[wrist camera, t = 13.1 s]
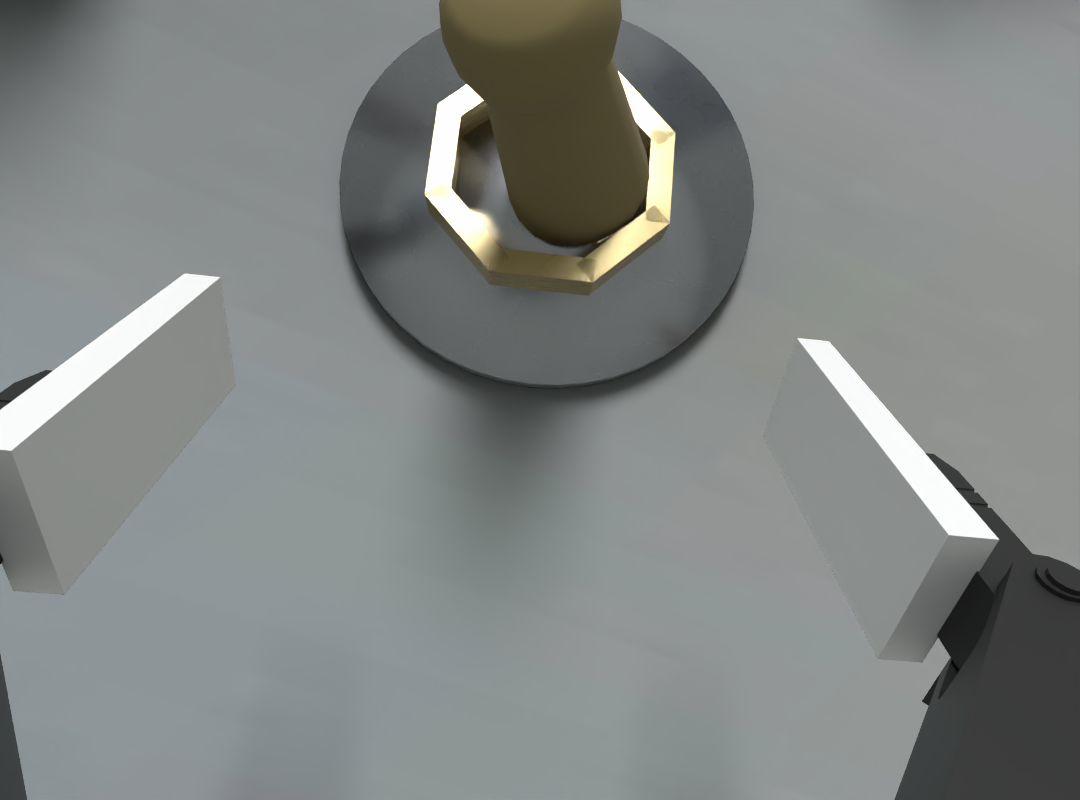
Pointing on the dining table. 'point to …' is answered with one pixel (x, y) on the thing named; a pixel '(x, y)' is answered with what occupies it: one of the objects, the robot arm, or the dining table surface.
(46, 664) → the dining table surface
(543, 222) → the cork
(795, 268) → the dining table surface
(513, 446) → the dining table surface
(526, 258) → the ring plate
